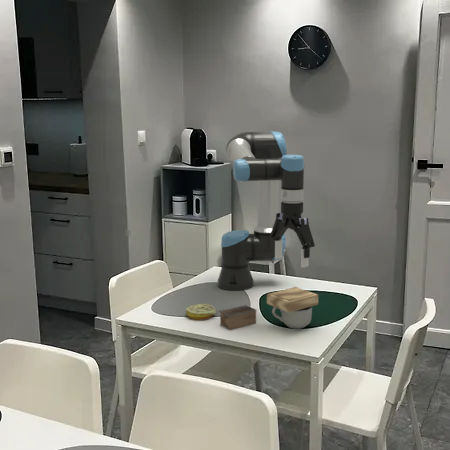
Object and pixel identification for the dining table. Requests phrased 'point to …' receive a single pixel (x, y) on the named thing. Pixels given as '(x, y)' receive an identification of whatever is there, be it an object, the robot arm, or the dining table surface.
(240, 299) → the dining table surface
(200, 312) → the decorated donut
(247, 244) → the robot arm
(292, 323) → the teacup
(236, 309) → the brown rectangular block
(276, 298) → the cover board
